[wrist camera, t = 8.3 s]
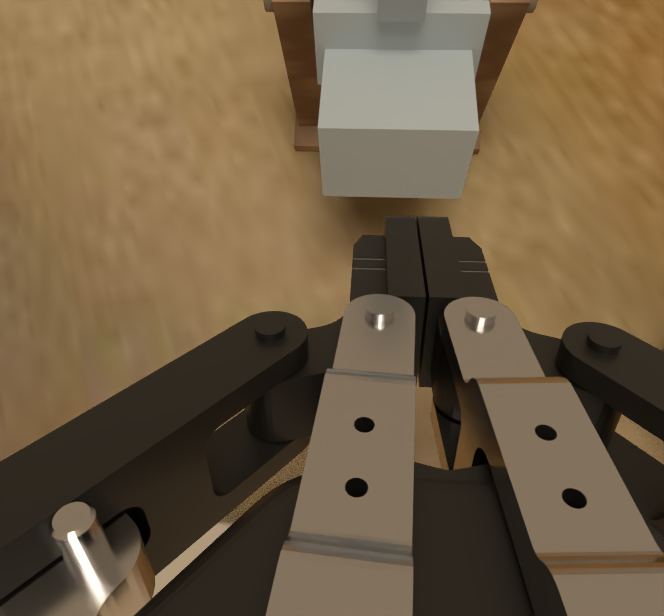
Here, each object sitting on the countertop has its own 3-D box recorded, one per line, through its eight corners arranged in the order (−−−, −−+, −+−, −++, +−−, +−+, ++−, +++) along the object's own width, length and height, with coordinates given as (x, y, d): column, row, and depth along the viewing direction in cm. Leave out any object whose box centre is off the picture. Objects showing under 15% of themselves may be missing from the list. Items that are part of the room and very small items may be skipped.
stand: (290, 150, 33) (257, 29, 23) (295, 75, 34) (265, -76, 23) (482, 153, 33) (543, 31, 22) (482, 77, 34) (540, -77, 23)
